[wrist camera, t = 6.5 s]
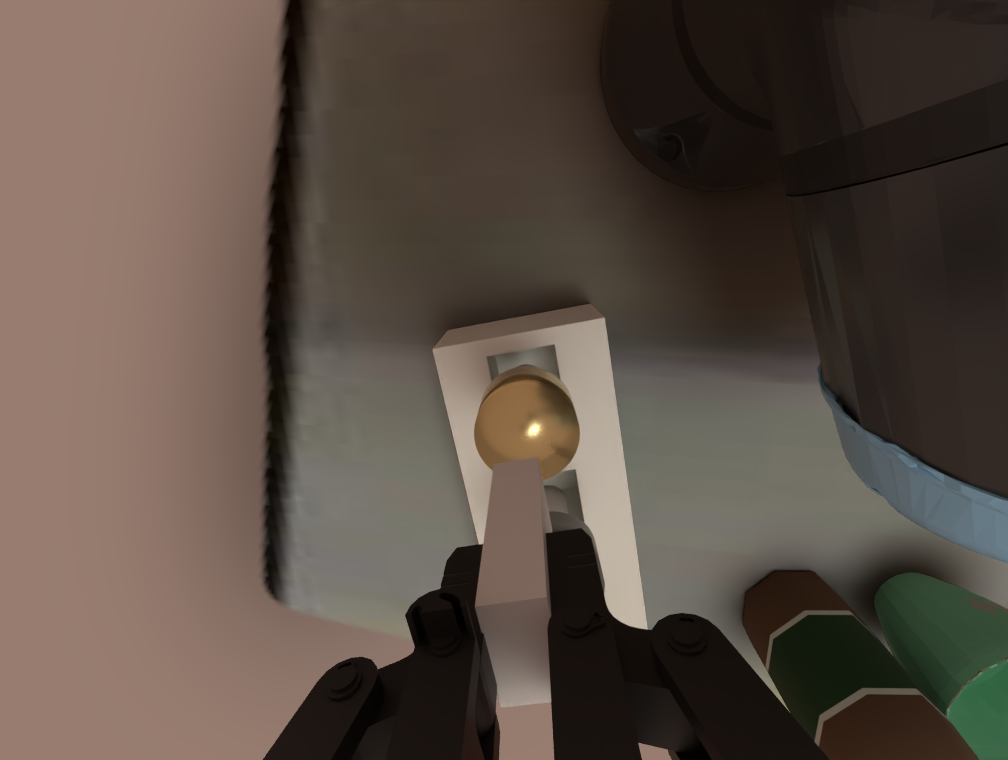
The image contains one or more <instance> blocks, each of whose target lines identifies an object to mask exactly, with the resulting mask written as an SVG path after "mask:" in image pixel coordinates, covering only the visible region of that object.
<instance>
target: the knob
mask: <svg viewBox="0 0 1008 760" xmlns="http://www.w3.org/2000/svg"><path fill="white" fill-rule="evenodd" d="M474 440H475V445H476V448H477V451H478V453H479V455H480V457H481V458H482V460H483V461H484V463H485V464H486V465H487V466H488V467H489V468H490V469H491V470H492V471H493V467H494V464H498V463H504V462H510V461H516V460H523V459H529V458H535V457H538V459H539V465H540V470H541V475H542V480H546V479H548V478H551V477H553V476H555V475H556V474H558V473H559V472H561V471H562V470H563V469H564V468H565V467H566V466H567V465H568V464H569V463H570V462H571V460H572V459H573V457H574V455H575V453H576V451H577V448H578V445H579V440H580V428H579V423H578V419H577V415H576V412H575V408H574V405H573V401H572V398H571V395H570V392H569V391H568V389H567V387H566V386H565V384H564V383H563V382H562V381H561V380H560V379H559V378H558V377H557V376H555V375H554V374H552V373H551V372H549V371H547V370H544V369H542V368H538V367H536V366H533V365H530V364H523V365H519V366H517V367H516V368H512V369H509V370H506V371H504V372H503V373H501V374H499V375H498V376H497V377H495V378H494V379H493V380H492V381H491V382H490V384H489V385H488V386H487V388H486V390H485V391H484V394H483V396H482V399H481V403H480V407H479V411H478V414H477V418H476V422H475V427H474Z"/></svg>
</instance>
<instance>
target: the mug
mask: <svg viewBox="0 0 1008 760" xmlns="http://www.w3.org/2000/svg"><path fill="white" fill-rule="evenodd" d="M874 605H875V609H876V613H877V615H878V618H879V621H880V624H881V627H882V630H883V633H884V635H885V638H886V640H887V643H888V645H889V647H890V649H891V651H892V654H893V656H894V658H895V659H896V660H897V661H898V662H899V664H900V665H901V666H902V667H903V668H904V669H905V670H906V672H907V673H908V674H909V675H910V676H911V677H912V678H913V680H914V681H915V682H916V683H917V684H918V685H919V686H920V688H921V689H922V690H923V691H924V692H925V693H926V694H927V696H928V697H929V698H930V699H931V700H932V701H933V702H934V704H935V705H936V706H937V707H938V708H939V709H940V710H941V712H942V713H943V714H944V715H945V716H946V717H947V718H948V720H949V721H950V722H951V723H952V724H953V726H954V727H955V728H956V729H957V731H958V732H959V733H960V735H961V736H962V737H963V739H964V740H965V741H966V742H967V744H968V745H969V746H970V748H971V749H972V750H973V752H974V753H975V754H976V755H977V757H978V759H979V760H1008V609H1006V608H1004V607H1002V606H1000V605H998V604H996V603H994V602H992V601H989V600H987V599H985V598H983V597H980V596H978V595H976V594H974V593H971V592H969V591H967V590H965V589H962V588H960V587H958V586H955V585H952V584H949V583H947V582H944V581H941V580H938V579H936V578H933V577H930V576H927V575H924V574H921V573H917V572H906V573H902V574H899V575H896V576H894V577H892V578H890V579H888V580H887V581H885V582H884V583H883V584H882V585H881V586H880V587H879V589H878V591H877V592H876V594H875V598H874Z"/></svg>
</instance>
